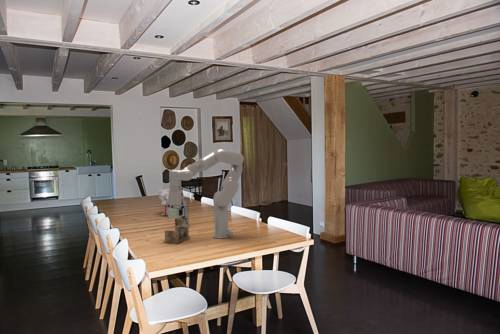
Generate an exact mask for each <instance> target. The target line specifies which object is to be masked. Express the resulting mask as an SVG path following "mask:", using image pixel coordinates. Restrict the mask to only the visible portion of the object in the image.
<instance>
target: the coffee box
mask: <svg viewBox="0 0 500 334" xmlns="http://www.w3.org/2000/svg"><path fill="white" fill-rule="evenodd" d="M175 207H179V206H175ZM184 215H185V216H182V217H179V218H176V219H175V218H174V224H175V225H174V227H175V228H176V226H186V227H188V228H189V226H190V224H189V223H190V222H189V206H188V205H186V206H185V207H184Z"/></svg>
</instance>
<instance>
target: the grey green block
mask: <svg viewBox="0 0 500 334" xmlns="http://www.w3.org/2000/svg"><path fill="white" fill-rule="evenodd" d="M179 210H180V208H179V207H176V206H173V208H170V209H168V215H167V216H168V217H167V218H168V219H174V220H175V219H176V218H179V217H182V216H185V215H184V208H183V215H181V216H179Z"/></svg>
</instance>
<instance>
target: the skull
mask: <svg viewBox="0 0 500 334" xmlns="http://www.w3.org/2000/svg"><path fill="white" fill-rule="evenodd" d="M169 191H170V188H162V189H161V188H160V189H158V191H157V192H158V198H159V200H160V202H161V205H162V206H163V213H162V214H161V216H164V217H166V216H168V209H169V207H168V206H167V205H166V202H167V201H168V195H169Z"/></svg>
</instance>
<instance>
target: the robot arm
mask: <svg viewBox="0 0 500 334" xmlns="http://www.w3.org/2000/svg"><path fill="white" fill-rule="evenodd" d="M244 161H245V157H244V155H243V154H242V153H241V152H236V151H231V150H227V149H223V148H222V149H221V148H218V149H215V150H213V151H211V152H210V153H208V154H207V155H205V156H203V157H202V158H200V159H198V160H196V161H195V162H192V163H191V164H189V165H187V166H185V167H184V168H182V169H181V170H179V169H170V170H169V174H168V177H169V178H168V179H169V181H168V182H169V189H170V191H169V195H168V201H167V202H166V205H167V206H168V207H169V209H170V208H173V207H176V206H179V208H180V210H179V216H181V215H183V208H184V207H185V206H188V205H187V202H186V201H185V195H184V191H183V186H182V181H184V182H185V181H190V180H192V179H193V177H194V176H195V175H197V174H198V173H201V172H203V171H208V170H209V169H210V168H213V167H214V166H216V165H217V164H219V163H224V164H228V165H230V168H229V171H228V173H227V175H225V178H224V179H223V181H222V183H221V186H222V189H221V190H218V191H216V192H215V193H214V194H213V201H212V203H213V212H214V213H213V217H214V219H213V221H214V223H213V225H214V228H213V229H214V233H213V234H212V238H214V239H227V238H230V237H231V236H233V235H234V231H230V228H229V208H228V207H229V205H230V204H231V202H232V201H233V199H234V197H235V196H236V194H237V192H238V190H239V187H240V186H239V185H240V184H239V182H238V181H239V179H240V178H241V175H242V173H243V164H244Z"/></svg>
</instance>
